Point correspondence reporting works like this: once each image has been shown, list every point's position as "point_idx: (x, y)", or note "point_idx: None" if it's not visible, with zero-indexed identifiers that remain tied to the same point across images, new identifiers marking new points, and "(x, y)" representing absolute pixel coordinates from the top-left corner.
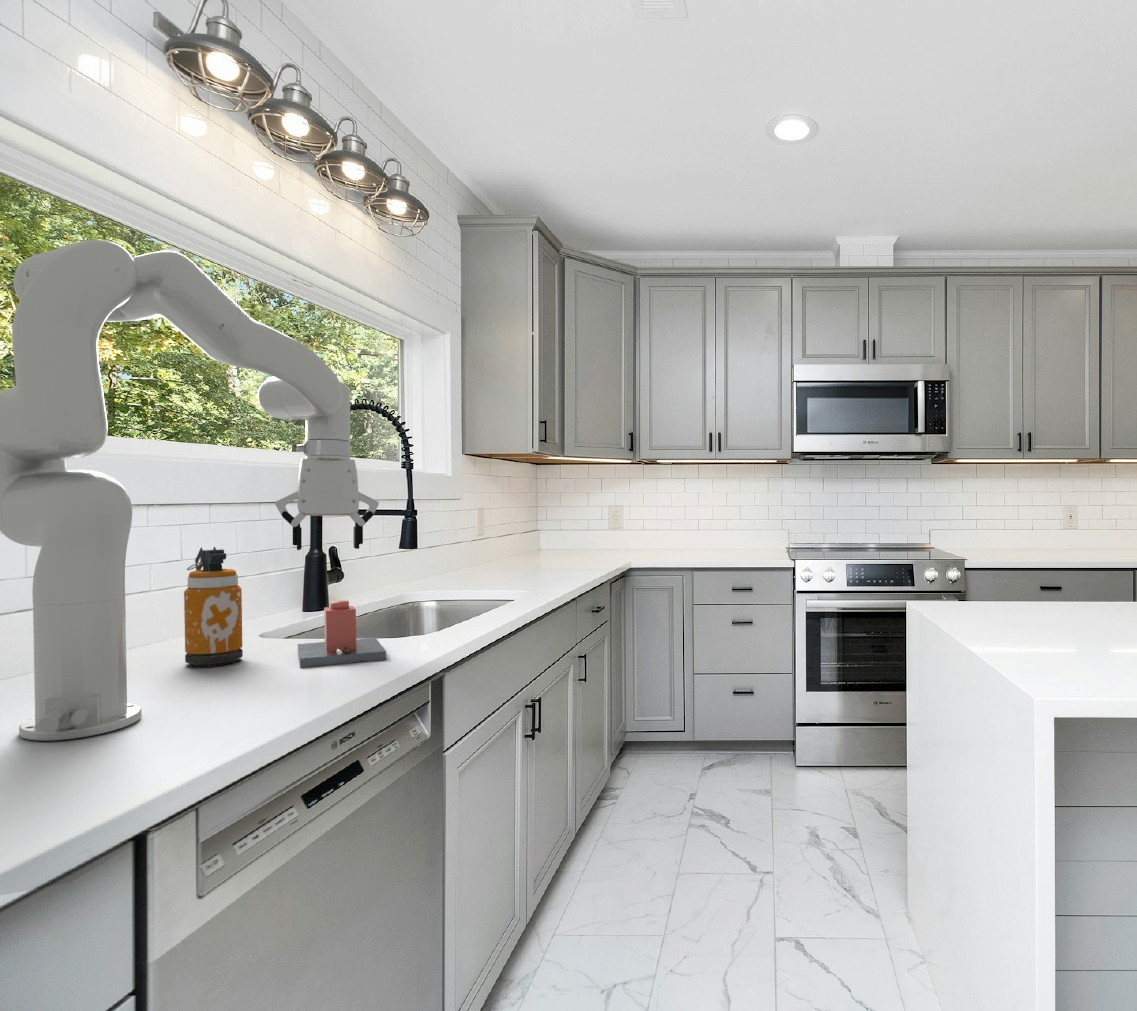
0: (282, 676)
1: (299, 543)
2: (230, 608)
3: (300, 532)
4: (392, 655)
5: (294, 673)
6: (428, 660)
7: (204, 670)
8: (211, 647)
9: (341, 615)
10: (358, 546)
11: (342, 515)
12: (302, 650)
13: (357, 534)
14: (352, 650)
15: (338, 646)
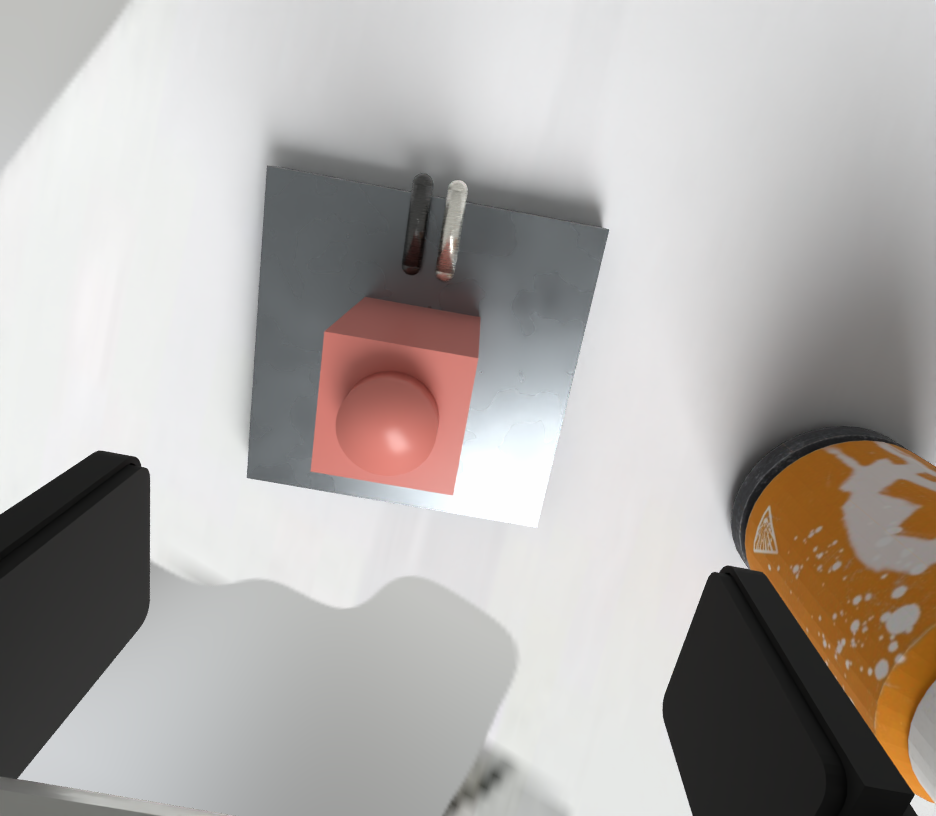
0: (702, 107)
1: (762, 600)
2: (919, 539)
3: (811, 711)
4: (237, 242)
5: (649, 135)
6: (121, 40)
7: (885, 398)
8: (899, 452)
9: (403, 338)
10: (102, 452)
11: (11, 783)
12: (555, 392)
13: (7, 531)
14: (387, 268)
15: (433, 312)
